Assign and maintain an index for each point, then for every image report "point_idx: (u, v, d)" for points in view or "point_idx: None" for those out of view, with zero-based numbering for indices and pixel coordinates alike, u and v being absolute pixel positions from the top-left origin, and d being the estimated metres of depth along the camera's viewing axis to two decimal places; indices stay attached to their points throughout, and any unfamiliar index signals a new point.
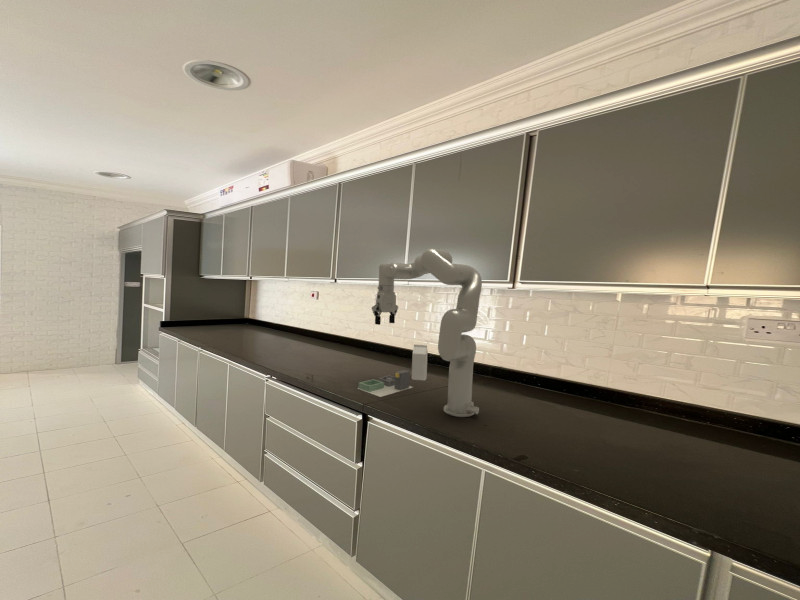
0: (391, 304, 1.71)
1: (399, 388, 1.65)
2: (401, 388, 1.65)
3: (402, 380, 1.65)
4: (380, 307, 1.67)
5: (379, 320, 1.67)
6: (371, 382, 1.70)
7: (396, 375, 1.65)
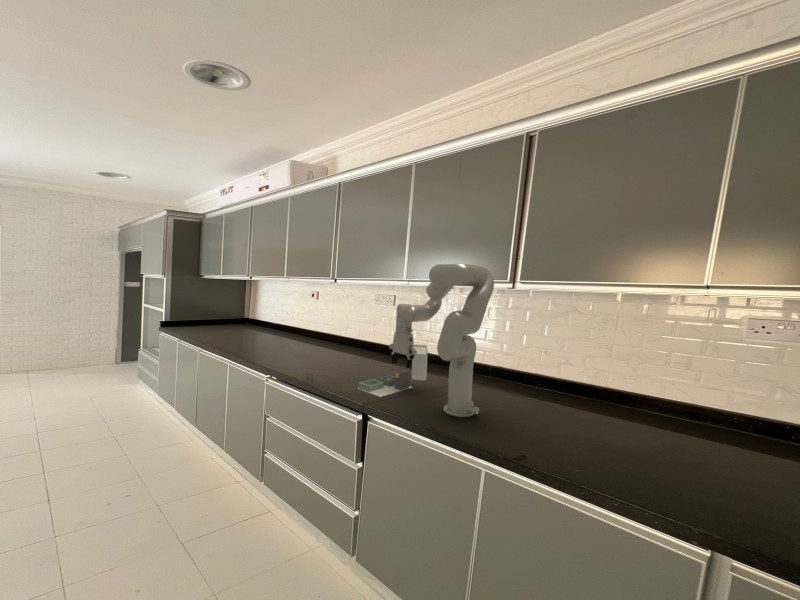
0: None
1: (399, 388, 1.65)
2: (401, 388, 1.65)
3: (402, 380, 1.65)
4: None
5: None
6: (371, 382, 1.70)
7: (396, 375, 1.65)
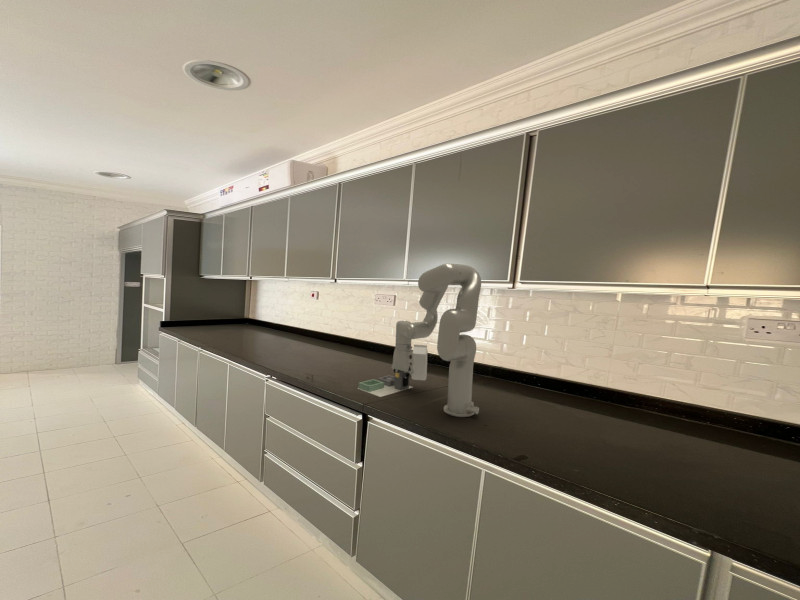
0: None
1: (399, 388, 1.65)
2: (401, 388, 1.65)
3: (402, 380, 1.65)
4: (412, 366, 1.65)
5: None
6: (371, 382, 1.70)
7: (396, 375, 1.65)
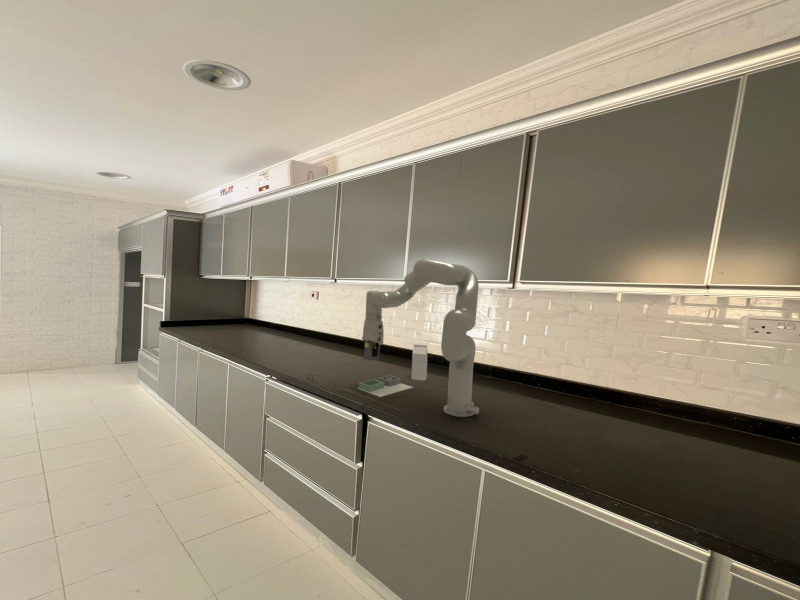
0: None
1: (368, 358, 1.63)
2: (370, 358, 1.63)
3: (372, 350, 1.63)
4: (382, 336, 1.63)
5: None
6: (371, 382, 1.70)
7: (365, 345, 1.63)
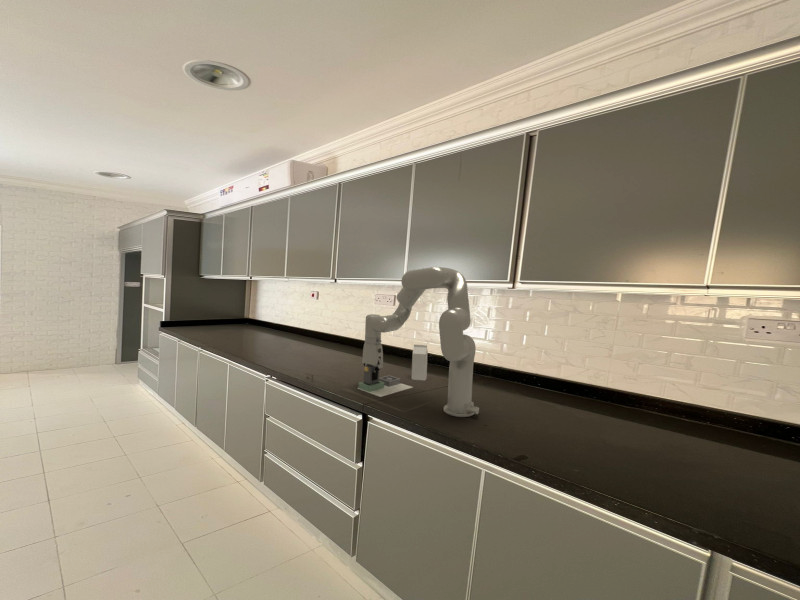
0: None
1: (368, 382, 1.63)
2: (370, 382, 1.63)
3: (371, 374, 1.63)
4: (382, 360, 1.63)
5: (377, 375, 1.65)
6: None
7: (365, 369, 1.63)
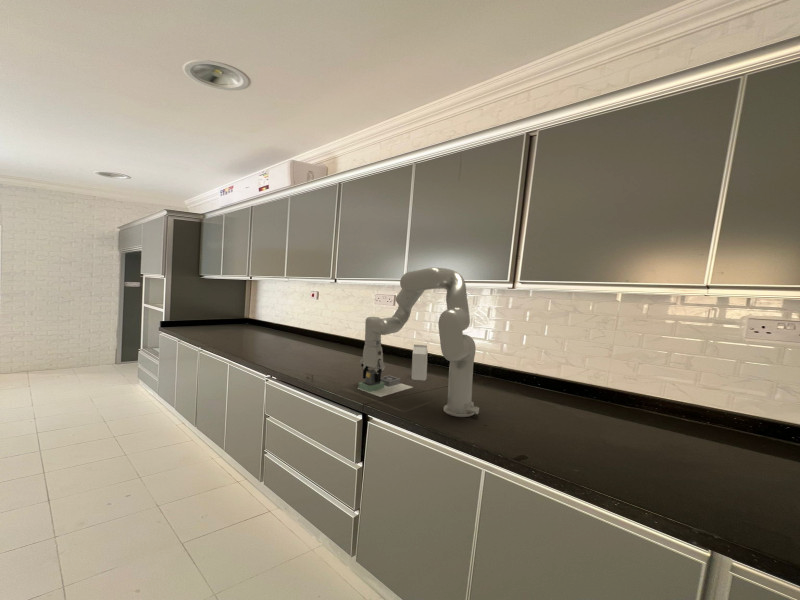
0: None
1: None
2: None
3: (372, 380, 1.63)
4: (382, 363, 1.63)
5: (380, 377, 1.64)
6: None
7: (367, 375, 1.62)
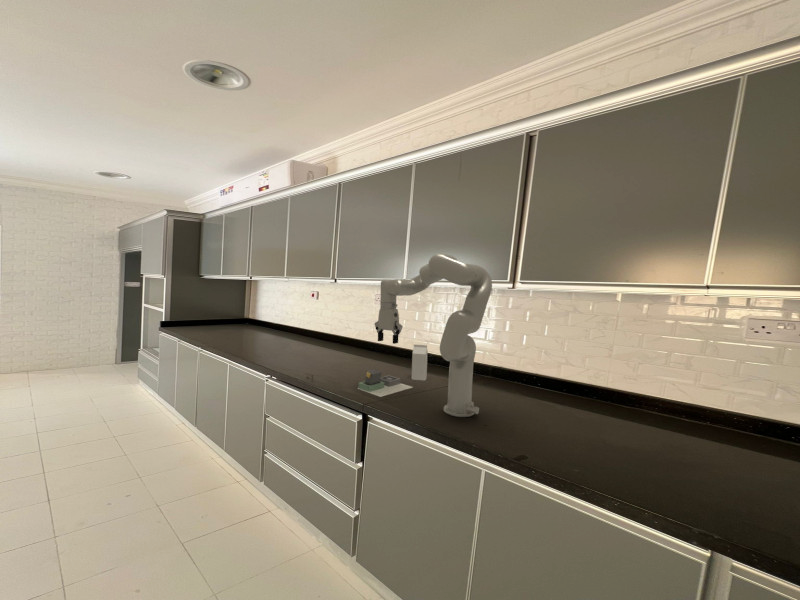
0: None
1: None
2: None
3: (372, 380, 1.63)
4: None
5: None
6: None
7: (367, 375, 1.62)
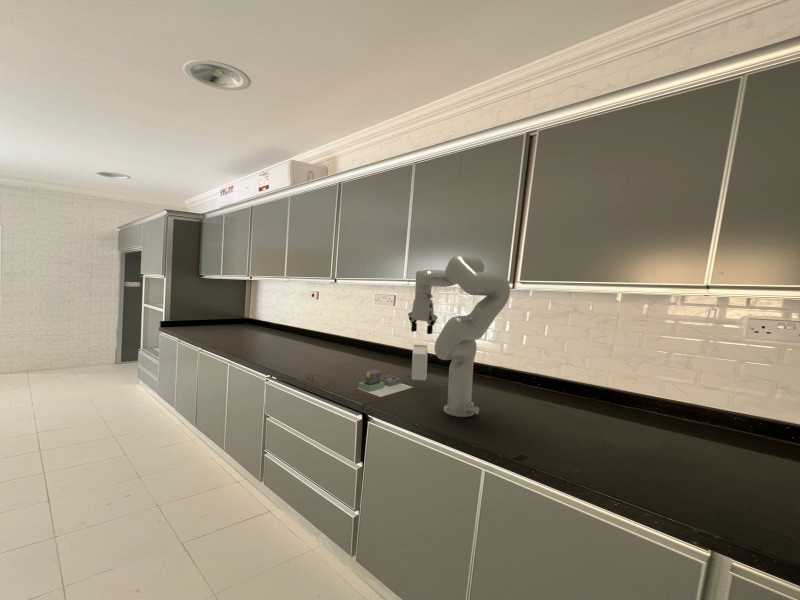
0: None
1: None
2: None
3: (372, 380, 1.63)
4: None
5: None
6: None
7: (367, 375, 1.62)
